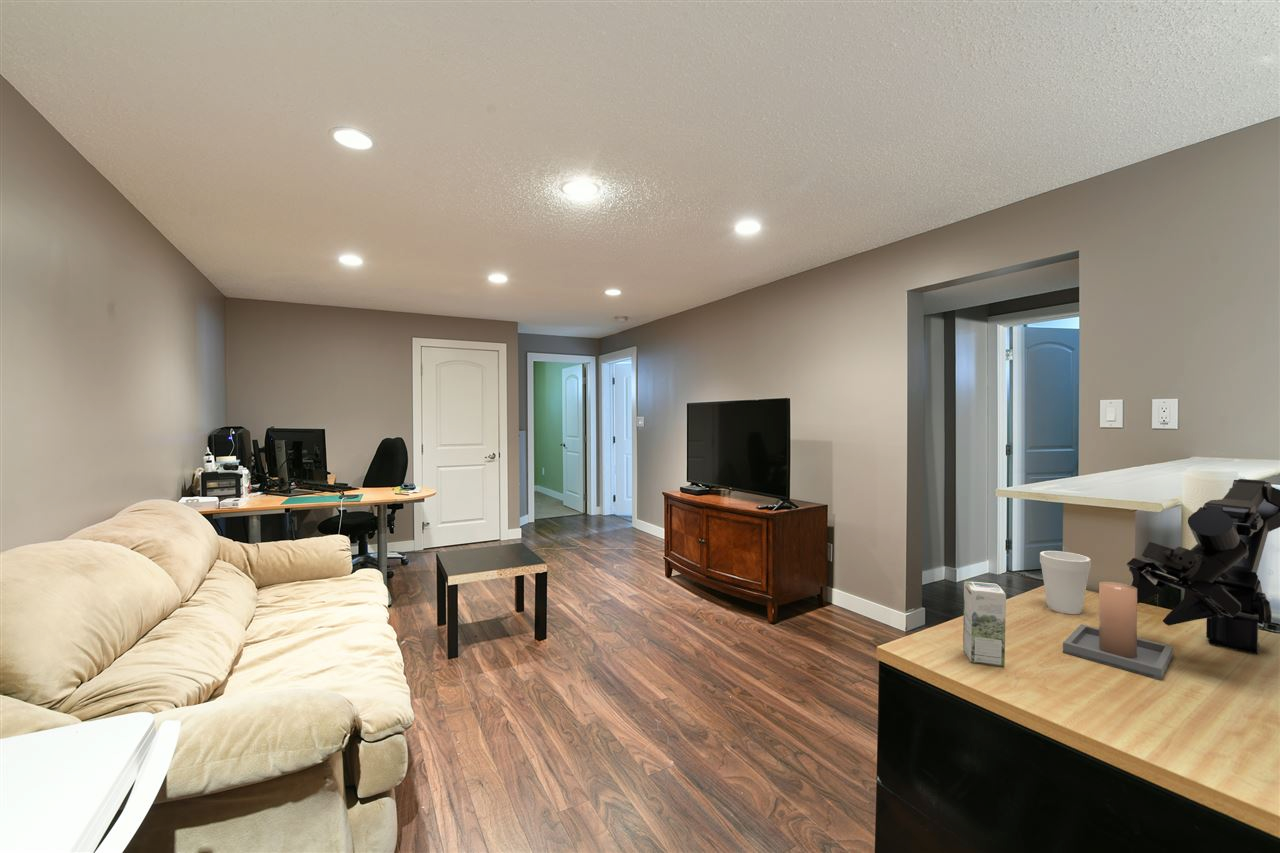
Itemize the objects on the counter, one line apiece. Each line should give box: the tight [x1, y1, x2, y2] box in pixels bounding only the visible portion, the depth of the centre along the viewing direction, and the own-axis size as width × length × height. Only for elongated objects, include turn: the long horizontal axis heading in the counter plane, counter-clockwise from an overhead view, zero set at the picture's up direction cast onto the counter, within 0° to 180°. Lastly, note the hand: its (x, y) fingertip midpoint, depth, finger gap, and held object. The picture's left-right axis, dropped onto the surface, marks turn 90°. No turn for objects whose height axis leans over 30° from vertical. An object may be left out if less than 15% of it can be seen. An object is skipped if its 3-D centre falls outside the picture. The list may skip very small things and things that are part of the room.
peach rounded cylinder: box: [1098, 581, 1138, 658], centre depth 102 cm, size 6×6×13 cm
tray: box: [1062, 623, 1174, 681], centre depth 103 cm, size 14×14×2 cm
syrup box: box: [962, 580, 1007, 667], centre depth 101 cm, size 6×6×14 cm
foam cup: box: [1039, 550, 1092, 615], centre depth 126 cm, size 10×9×13 cm
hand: (1144, 613), depth 102 cm, fingers open, 9 cm apart
